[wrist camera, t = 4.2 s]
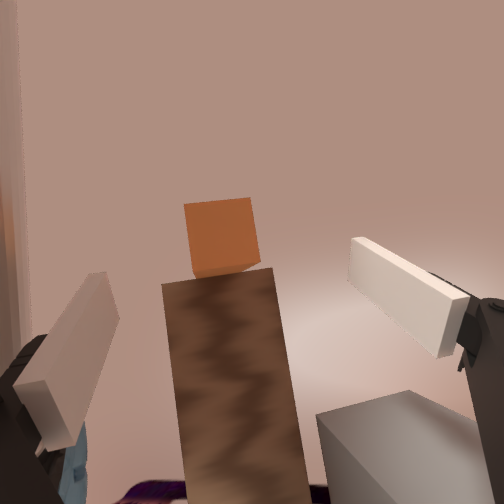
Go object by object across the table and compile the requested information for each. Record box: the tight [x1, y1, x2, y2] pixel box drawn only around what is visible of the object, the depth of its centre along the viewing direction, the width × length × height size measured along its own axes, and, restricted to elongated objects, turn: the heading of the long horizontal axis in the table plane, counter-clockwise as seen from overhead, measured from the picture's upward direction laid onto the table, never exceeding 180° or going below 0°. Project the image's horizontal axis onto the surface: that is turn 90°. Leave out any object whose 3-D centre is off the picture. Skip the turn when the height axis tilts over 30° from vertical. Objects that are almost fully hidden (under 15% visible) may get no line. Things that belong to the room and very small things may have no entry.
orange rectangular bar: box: [184, 198, 261, 279], centre depth 27 cm, size 4×22×4 cm, turn 10°
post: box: [161, 268, 312, 504], centre depth 28 cm, size 10×10×30 cm
